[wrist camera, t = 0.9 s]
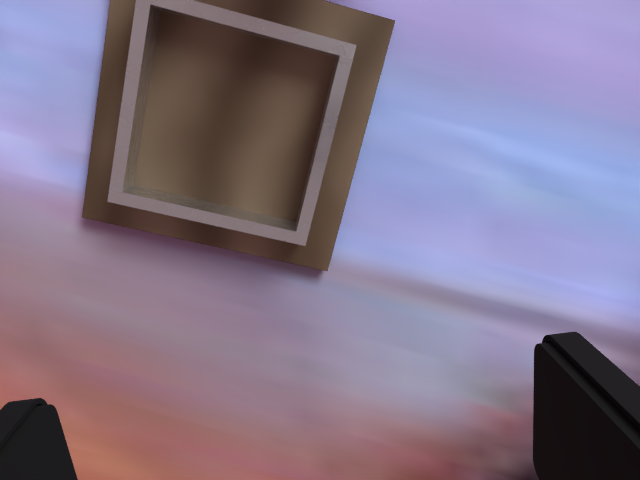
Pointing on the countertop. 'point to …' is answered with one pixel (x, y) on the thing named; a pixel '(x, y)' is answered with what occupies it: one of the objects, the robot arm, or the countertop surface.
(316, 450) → the countertop surface
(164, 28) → the tray
